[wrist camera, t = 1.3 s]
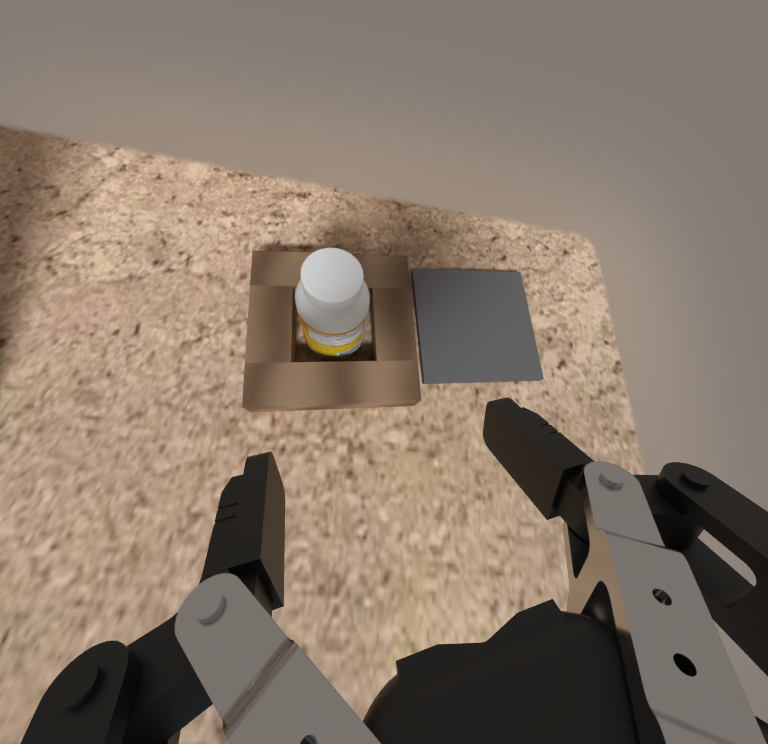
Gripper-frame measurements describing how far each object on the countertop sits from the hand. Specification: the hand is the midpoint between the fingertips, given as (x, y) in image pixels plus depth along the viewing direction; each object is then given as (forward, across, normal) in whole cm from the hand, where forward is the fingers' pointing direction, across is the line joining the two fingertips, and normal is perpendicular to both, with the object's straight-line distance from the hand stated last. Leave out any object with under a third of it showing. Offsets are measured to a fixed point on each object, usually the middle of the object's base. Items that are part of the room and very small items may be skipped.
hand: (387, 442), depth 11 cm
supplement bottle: (+19, 0, +3) cm, 19 cm away
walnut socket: (+19, 0, +3) cm, 19 cm away
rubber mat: (+18, -14, +4) cm, 23 cm away
